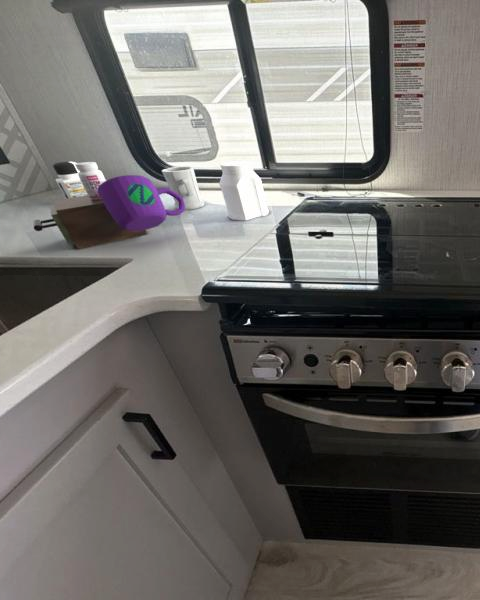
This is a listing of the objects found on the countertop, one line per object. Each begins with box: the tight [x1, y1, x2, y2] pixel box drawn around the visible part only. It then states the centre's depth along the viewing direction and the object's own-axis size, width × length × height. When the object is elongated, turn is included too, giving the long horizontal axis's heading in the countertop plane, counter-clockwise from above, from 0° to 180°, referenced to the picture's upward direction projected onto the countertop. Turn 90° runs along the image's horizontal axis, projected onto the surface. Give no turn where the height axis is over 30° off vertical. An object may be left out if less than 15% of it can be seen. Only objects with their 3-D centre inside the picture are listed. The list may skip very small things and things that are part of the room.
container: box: [52, 161, 88, 199], centre depth 117 cm, size 8×8×13 cm
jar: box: [218, 160, 269, 221], centre depth 99 cm, size 12×10×15 cm
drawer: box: [33, 204, 76, 247], centre depth 85 cm, size 18×11×8 cm, turn 133°
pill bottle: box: [75, 161, 107, 200], centre depth 83 cm, size 5×5×8 cm
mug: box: [98, 174, 186, 231], centre depth 84 cm, size 17×11×10 cm
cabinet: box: [53, 195, 148, 250], centre depth 87 cm, size 15×13×10 cm
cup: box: [161, 166, 206, 211], centre depth 108 cm, size 10×9×12 cm
